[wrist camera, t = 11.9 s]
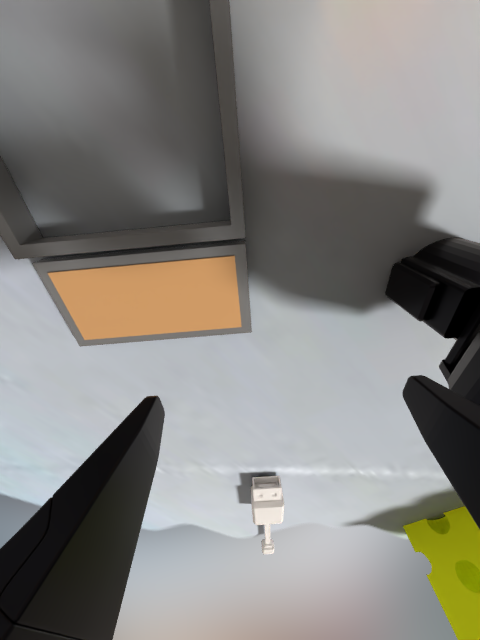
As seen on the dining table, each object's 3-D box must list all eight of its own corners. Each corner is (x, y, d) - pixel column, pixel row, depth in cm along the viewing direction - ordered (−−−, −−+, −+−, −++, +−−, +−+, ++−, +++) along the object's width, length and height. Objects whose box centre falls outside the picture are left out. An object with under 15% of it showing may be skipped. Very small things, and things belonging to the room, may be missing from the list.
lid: (244, 240, 16) (245, 244, 15) (250, 325, 20) (251, 333, 19) (42, 259, 16) (30, 264, 16) (86, 339, 20) (78, 347, 19)
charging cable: (256, 541, 50) (257, 562, 47) (249, 471, 34) (250, 496, 31) (277, 540, 50) (280, 560, 47) (281, 469, 34) (285, 494, 31)
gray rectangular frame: (203, -351, 7) (193, -522, 5) (244, 231, 16) (245, 237, 14) (-251, -278, 7) (-397, -416, 6) (38, 250, 16) (14, 259, 14)
